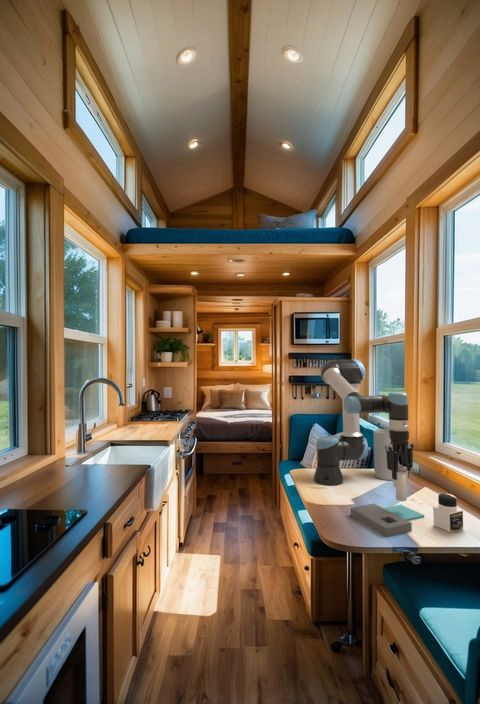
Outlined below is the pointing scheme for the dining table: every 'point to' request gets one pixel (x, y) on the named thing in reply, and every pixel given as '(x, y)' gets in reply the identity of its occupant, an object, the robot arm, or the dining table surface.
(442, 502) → the medicine bottle
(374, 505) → the grey socket plate
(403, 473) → the plug
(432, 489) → the dining table surface
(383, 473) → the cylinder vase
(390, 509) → the mat
